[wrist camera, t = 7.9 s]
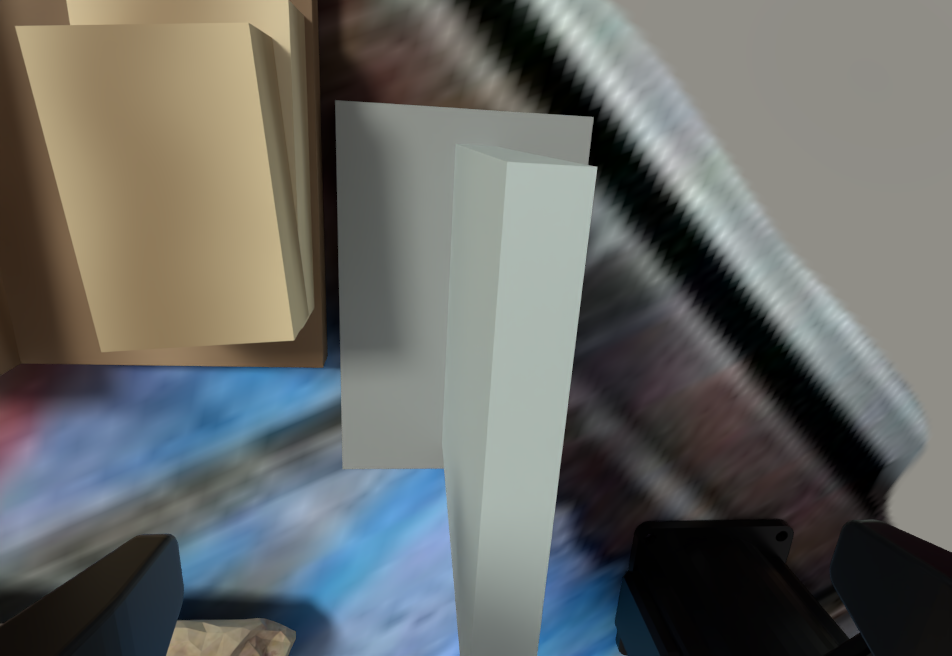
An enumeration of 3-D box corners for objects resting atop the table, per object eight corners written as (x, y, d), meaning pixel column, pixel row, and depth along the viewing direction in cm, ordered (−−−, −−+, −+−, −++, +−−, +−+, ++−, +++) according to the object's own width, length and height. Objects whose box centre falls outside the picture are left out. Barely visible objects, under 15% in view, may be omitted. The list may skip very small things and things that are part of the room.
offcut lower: (304, 15, 15) (288, -1, 13) (314, 307, 18) (302, 329, 16) (109, 0, 14) (63, -20, 13) (149, 303, 17) (116, 324, 15)
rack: (315, -65, 15) (288, -118, 12) (327, 358, 19) (309, 406, 16) (-284, -123, 14) (-506, -204, 10) (-137, 351, 18) (-264, 402, 14)
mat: (587, 117, 17) (593, 117, 17) (549, 458, 21) (552, 467, 21) (338, 101, 17) (334, 99, 16) (344, 459, 20) (342, 468, 20)
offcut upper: (272, 37, 13) (248, 22, 11) (309, 315, 16) (294, 340, 14) (72, 41, 13) (15, 26, 11) (140, 324, 15) (100, 352, 13)
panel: (495, 146, 17) (596, 166, 8) (476, 443, 20) (529, 717, 11) (455, 143, 17) (507, 161, 7) (442, 443, 20) (465, 721, 11)
